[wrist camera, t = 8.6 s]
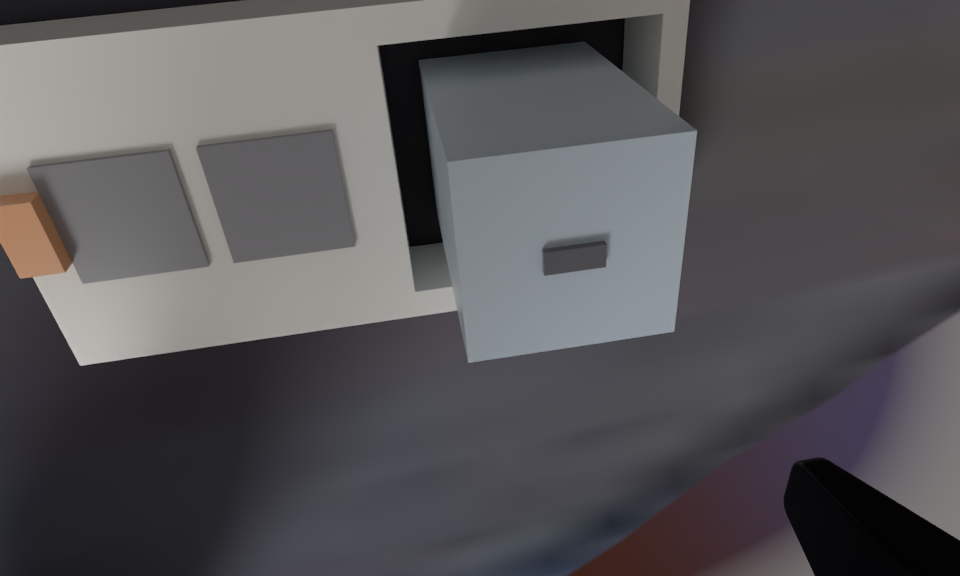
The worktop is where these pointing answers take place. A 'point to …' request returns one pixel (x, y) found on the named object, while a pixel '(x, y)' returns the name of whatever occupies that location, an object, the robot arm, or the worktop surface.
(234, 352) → the worktop surface
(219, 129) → the power strip
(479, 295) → the box
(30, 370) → the worktop surface
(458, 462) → the worktop surface
